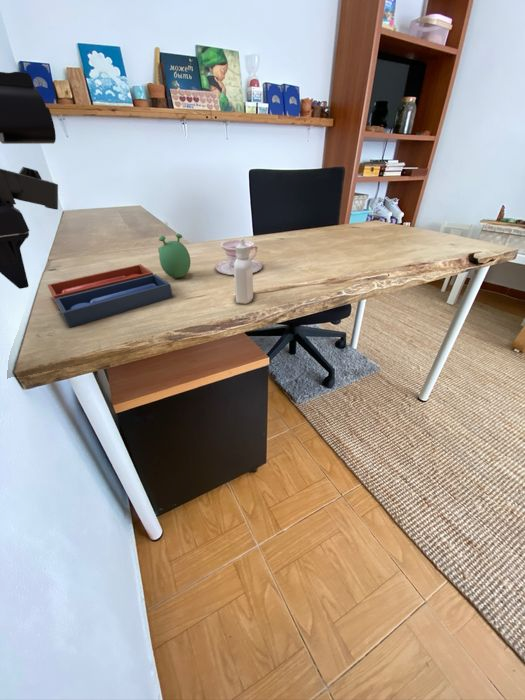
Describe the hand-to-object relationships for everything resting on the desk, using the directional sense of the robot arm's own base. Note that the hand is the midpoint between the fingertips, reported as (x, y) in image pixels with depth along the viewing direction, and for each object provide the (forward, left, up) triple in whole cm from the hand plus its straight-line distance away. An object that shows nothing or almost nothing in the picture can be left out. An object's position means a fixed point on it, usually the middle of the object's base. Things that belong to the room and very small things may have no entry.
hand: (20, 278), depth 42 cm
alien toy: (+29, +14, -11) cm, 34 cm away
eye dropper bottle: (+34, -7, -11) cm, 36 cm away
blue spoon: (+13, +8, -11) cm, 18 cm away
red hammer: (+13, +16, -11) cm, 24 cm away
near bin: (+13, +7, -11) cm, 19 cm away
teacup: (+44, +9, -11) cm, 46 cm away
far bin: (+13, +16, -11) cm, 24 cm away
